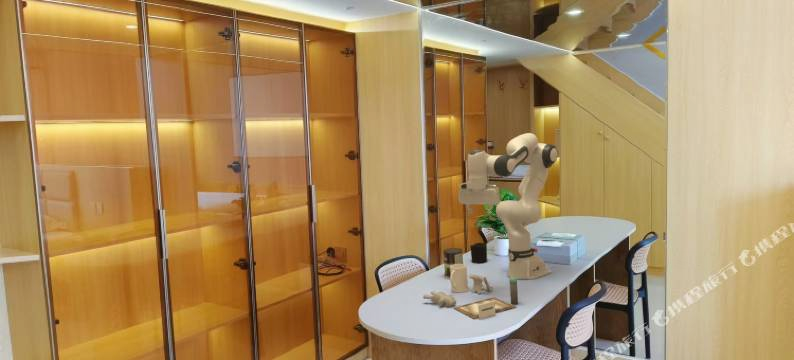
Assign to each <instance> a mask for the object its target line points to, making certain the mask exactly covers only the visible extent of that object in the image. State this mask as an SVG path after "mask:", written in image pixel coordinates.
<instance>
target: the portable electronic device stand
mask: <svg viewBox="0 0 794 360" xmlns="http://www.w3.org/2000/svg"><path fill="white" fill-rule="evenodd" d="M468 278H469V279H471V280H473V286H472V290H471V293H472V294H475V293H476V292H477V295H481V291H483V290H484V291H487V292H488V291H489V292H493V291H494V287H493V286H492V285H490V284H489V281H488V279H487V277H486V276H482V275H476V274H472V273H471V274H469V277H468ZM483 282H484V284H485V286H484V284H483Z"/></svg>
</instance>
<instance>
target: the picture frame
mask: <svg viewBox="0 0 794 360" xmlns="http://www.w3.org/2000/svg"><path fill="white" fill-rule="evenodd" d="M491 301H495V314H499V313H502V312H503V313H504V312H505V311H510V310H512V309H516V308H517V306H515V305H514V304H511V303H508V302H506V301H504V300H502V299H499V298H496V297H489V298H485V299H482V300H481V299H480V300H478V301H475V302H470V303H467V304H463V305H458V306H455V307H453V310H455V311H457V312H459V313H461V314H463V315H465V316H466V317H469V318H471V319H472V320H476V319H479V311H478V305H479V304H483V303H487V302H491Z"/></svg>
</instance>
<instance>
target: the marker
mask: <svg viewBox="0 0 794 360" xmlns="http://www.w3.org/2000/svg"><path fill="white" fill-rule="evenodd" d="M508 280H509V293H510V294H509V295H510V296H509V297H510V304H511V305H513V306H515V305H519V294H518V293H519V292H518V279H517V277H509V278H508Z"/></svg>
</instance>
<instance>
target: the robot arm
mask: <svg viewBox="0 0 794 360" xmlns="http://www.w3.org/2000/svg"><path fill="white" fill-rule="evenodd" d="M505 149H506V153H507V154H504V155H503V154H502V155H500V154H499V155H496V154H495V155H492V154H488V153H487V152H485V149H481V148H480V149H473V150H471V151H470V152H468V154H467V170H468V180H467V181H465V182H463V183H460V184H459V185H458V187H459V191H458V202H459V204H461V205H465V207H466V208H467V210H468V214H474V209H472V207H471V205H481V206H482V205H484V206H488V210H486V214H487V215H491V214H492V210H493V209H494V206H496V207H495V213H496V216H497V218H498V219H500V221H501V222H502V223H503V225H504V227H505V229H506V233H507V236H508V237H507V238H508V259H509V263H508V269H507V277H509V278H510V277H517V280H536V279H537V278H541V277H544V276H546V275H549V274H552V273H551V270H550V269H548V268H546V264H545V261H544V260H543V259H541V258H540V257H539V256H537V255H536V254H535V253H538V252H539V250H538V248H536V247H534V248H533V247H532V243H531V242H532V241H531V233H530V232H529V231H528V229H526V227H525V226H524V225H523V224H527V225H528V224H535V223H538V222H539V221H540V219H541V216H542V208H541V206H540V205H539V201H538V200H539V197H540V195H541V192H542V190H543V188H544V186H545V183H546V181H547V180H548V179H547V178H548V176H549V168H551V167H552V166H553V165H554V164H555V163H556V161H557V160H558V158H559V151H558V148H557V146H555V145H554V144H551V143H541V142H539V140H538V137H537V136H536V135H535V134H534V133H531V132H527V133H523V134H519V135H518V136H515V137H514V138H512V139H511V140H509V141H508V143H507V145H506V148H505ZM522 163H525V164H530V167H529V169H527V171H526V172H525V175H524V176H523V178H522V180H521V182H520V184H519V186H518V189H517V190H518V194H519V195H520V199H519V200H513V199H512V200H509V199H508V200H503V201H502V200H501V197H500V188H499V186H498V185H496V184H489V183H488V176H493V177H495V176H496V177H498V176H499V177H504V178H507V177H510V176H511V175H512V174H513V173H514V171H515V169H517V167H518V166H520V165H521V164H522Z"/></svg>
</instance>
